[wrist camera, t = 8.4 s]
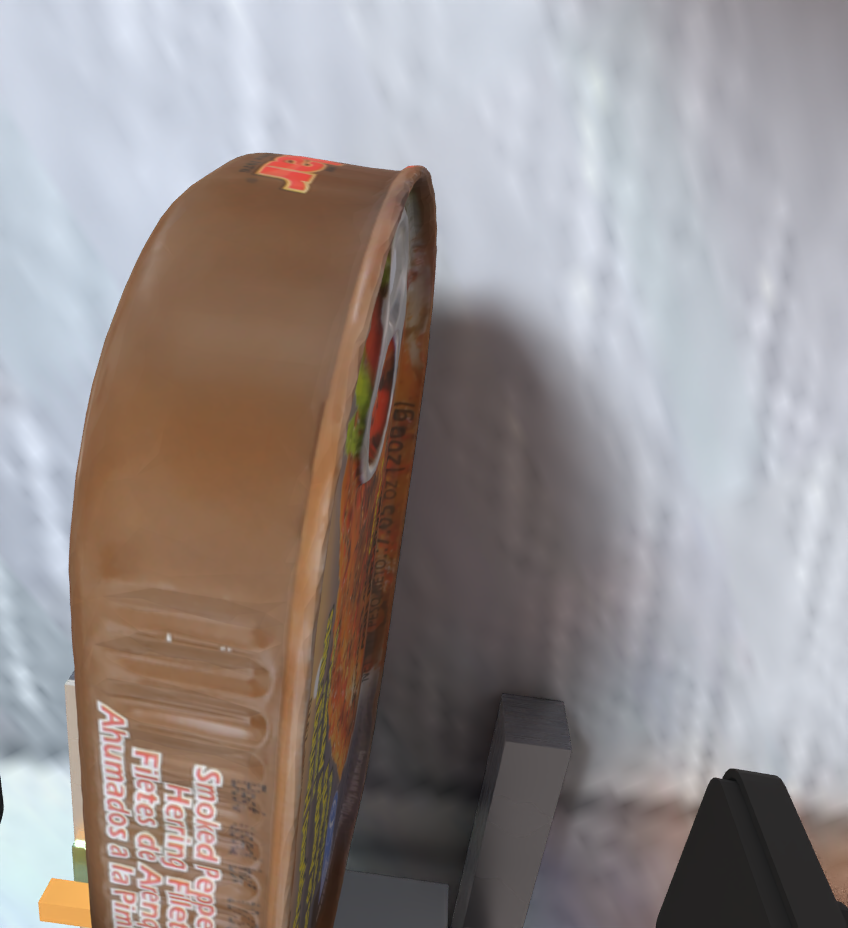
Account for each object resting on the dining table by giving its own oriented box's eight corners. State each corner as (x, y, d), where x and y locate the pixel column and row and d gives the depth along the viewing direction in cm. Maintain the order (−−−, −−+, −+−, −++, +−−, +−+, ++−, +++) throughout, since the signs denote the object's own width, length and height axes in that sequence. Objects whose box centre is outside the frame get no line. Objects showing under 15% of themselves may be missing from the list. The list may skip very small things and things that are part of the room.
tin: (364, 803, 19) (296, 1256, 11) (238, 785, 19) (85, 1227, 11) (457, 158, 13) (446, 201, 5) (274, 130, 13) (1, 134, 5)
